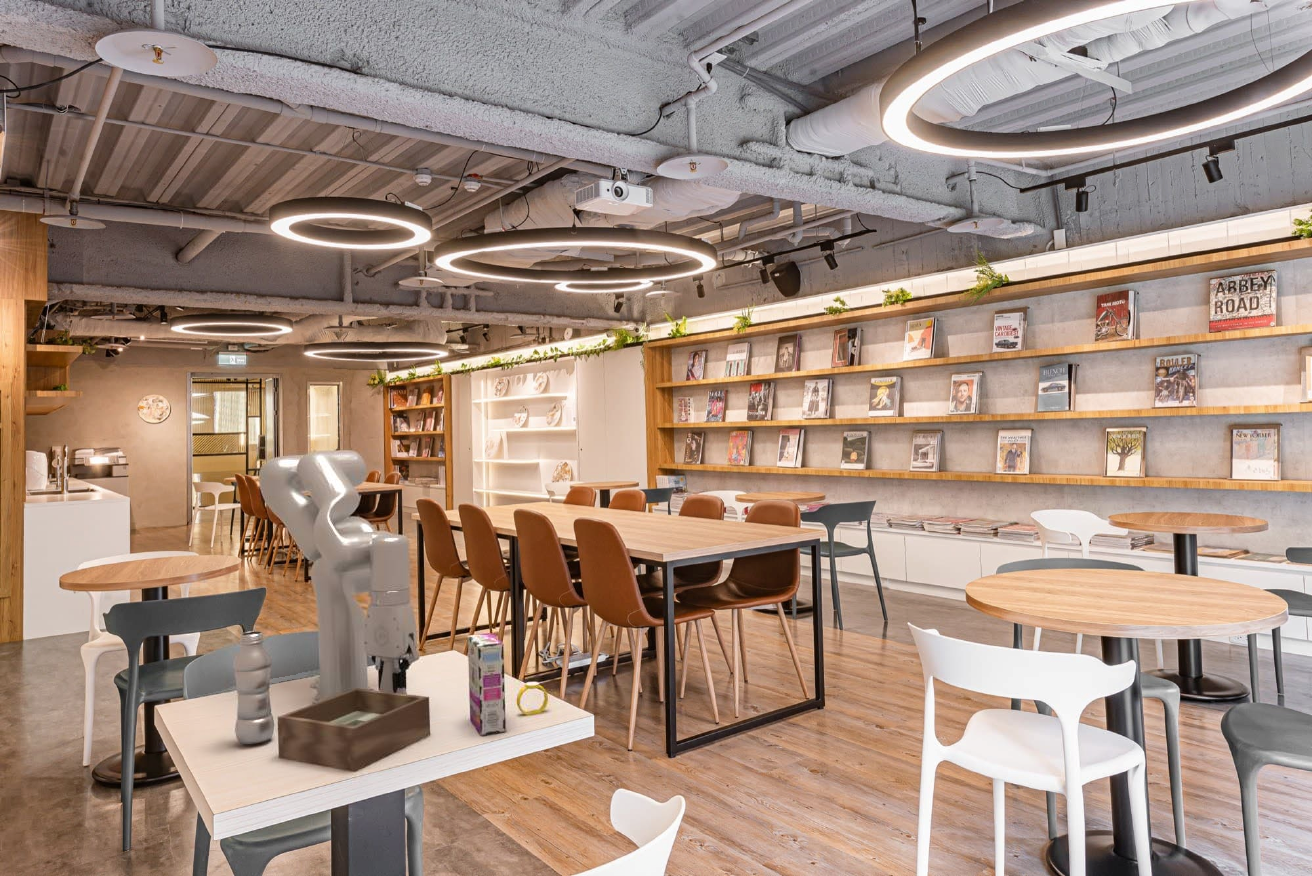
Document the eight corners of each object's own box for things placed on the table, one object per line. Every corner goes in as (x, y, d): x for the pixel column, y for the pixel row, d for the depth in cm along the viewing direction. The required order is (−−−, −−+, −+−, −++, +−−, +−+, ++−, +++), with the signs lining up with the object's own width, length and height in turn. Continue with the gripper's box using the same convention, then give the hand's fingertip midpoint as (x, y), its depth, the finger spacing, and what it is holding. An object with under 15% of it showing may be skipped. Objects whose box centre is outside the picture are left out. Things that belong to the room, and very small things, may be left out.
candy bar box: (508, 732, 151) (504, 642, 152) (480, 737, 149) (477, 646, 150) (494, 715, 162) (491, 631, 162) (469, 719, 160) (466, 634, 160)
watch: (544, 710, 164) (545, 680, 165) (548, 714, 162) (549, 683, 162) (515, 713, 162) (516, 682, 162) (518, 717, 159) (519, 686, 160)
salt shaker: (398, 718, 160) (397, 652, 160) (371, 717, 161) (370, 651, 161) (413, 708, 166) (412, 644, 166) (387, 707, 167) (386, 643, 167)
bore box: (278, 757, 143) (277, 717, 143) (357, 724, 159) (356, 688, 159) (355, 771, 135) (354, 728, 135) (430, 735, 151) (428, 697, 151)
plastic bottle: (249, 751, 147) (245, 638, 147) (227, 745, 150) (224, 635, 151) (282, 739, 152) (278, 631, 153) (260, 734, 156) (257, 628, 156)
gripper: (345, 598, 164) (347, 690, 164) (409, 604, 156) (411, 701, 157) (373, 591, 170) (375, 680, 170) (435, 597, 163) (437, 689, 163)
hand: (392, 689), depth 163 cm, fingers closed on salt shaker, 3 cm apart
